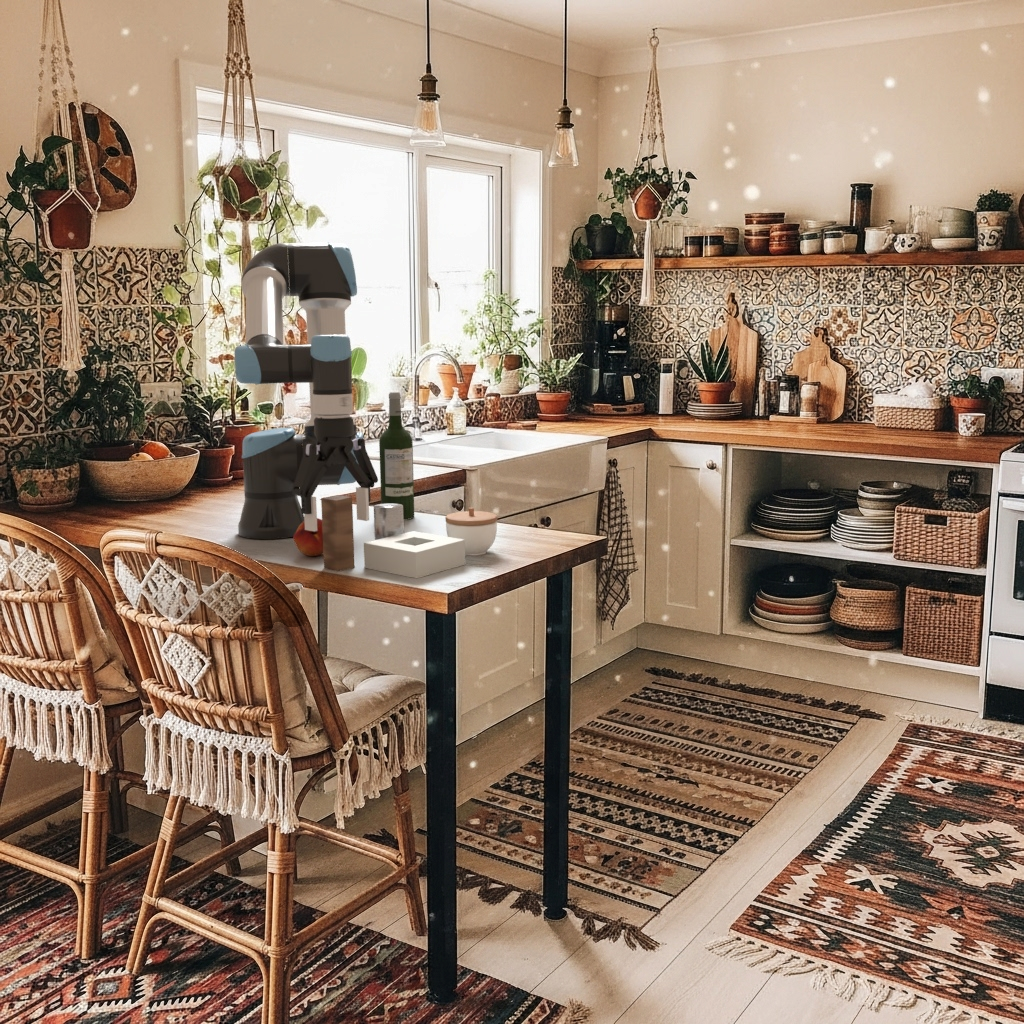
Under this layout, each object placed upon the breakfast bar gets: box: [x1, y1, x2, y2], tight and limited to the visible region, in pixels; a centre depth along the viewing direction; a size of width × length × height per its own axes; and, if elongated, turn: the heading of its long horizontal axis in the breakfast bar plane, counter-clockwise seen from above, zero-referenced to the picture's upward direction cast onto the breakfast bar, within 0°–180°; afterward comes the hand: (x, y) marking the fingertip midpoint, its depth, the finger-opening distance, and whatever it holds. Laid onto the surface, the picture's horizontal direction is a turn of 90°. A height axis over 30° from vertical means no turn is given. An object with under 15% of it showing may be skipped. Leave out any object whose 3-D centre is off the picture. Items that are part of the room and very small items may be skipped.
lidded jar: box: [445, 507, 498, 557], centre depth 235 cm, size 11×11×9 cm
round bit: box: [373, 503, 405, 540], centre depth 234 cm, size 6×6×10 cm
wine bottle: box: [378, 391, 415, 521], centre depth 270 cm, size 8×8×30 cm
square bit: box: [320, 494, 356, 572], centre depth 222 cm, size 4×4×14 cm
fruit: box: [292, 517, 323, 557], centre depth 233 cm, size 8×8×8 cm
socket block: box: [363, 530, 466, 579], centre depth 223 cm, size 14×14×5 cm
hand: (337, 525), depth 221 cm, fingers open, 13 cm apart
